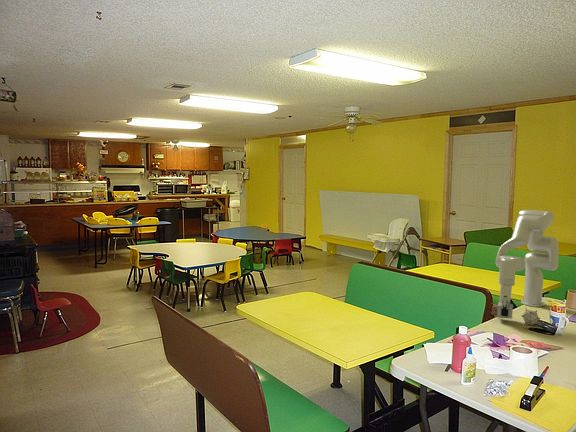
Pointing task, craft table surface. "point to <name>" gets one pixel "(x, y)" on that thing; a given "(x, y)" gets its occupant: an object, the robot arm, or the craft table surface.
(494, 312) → the walnut block
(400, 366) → the craft table surface
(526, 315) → the grey spiky ball
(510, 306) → the grey block
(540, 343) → the craft table surface
